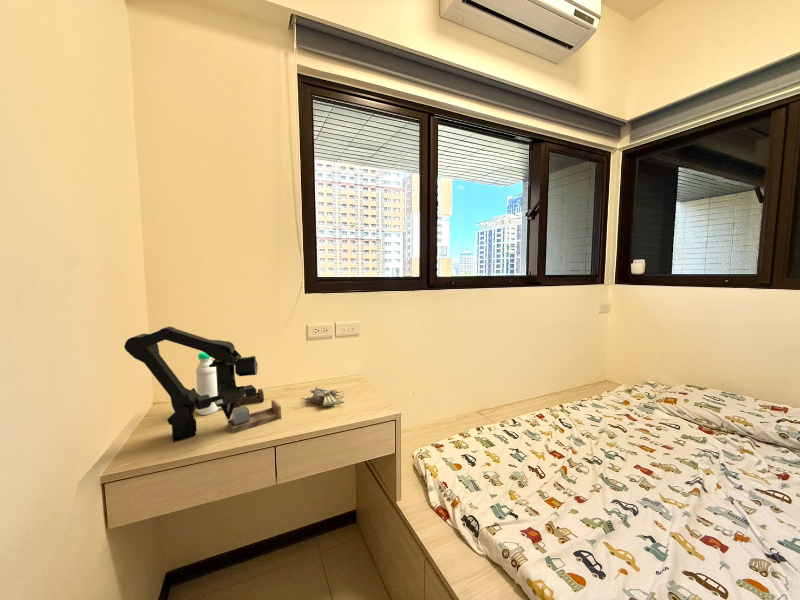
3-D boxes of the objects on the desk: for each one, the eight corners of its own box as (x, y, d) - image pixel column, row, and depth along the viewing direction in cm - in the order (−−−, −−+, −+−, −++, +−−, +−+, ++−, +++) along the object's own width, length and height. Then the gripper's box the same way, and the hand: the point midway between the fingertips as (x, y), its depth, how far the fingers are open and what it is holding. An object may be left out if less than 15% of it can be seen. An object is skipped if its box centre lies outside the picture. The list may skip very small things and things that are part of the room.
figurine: (333, 381, 146) (356, 390, 136) (332, 393, 147) (356, 403, 136) (295, 391, 131) (318, 402, 120) (295, 405, 132) (318, 417, 121)
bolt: (224, 412, 130) (263, 402, 138) (225, 410, 126) (264, 400, 134) (223, 398, 131) (261, 389, 140) (223, 396, 127) (262, 387, 136)
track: (233, 433, 109) (232, 420, 108) (228, 425, 115) (227, 412, 114) (281, 418, 120) (280, 406, 119) (274, 411, 126) (273, 399, 125)
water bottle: (209, 416, 122) (205, 355, 120) (194, 414, 123) (190, 354, 121) (222, 408, 129) (219, 350, 127) (208, 407, 130) (204, 349, 128)
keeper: (235, 427, 110) (234, 414, 110) (231, 422, 114) (231, 409, 114) (249, 422, 114) (249, 410, 113) (246, 418, 117) (245, 405, 117)
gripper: (198, 390, 97) (201, 437, 99) (260, 377, 110) (262, 418, 111) (193, 381, 106) (196, 424, 107) (251, 369, 118) (253, 408, 119)
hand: (228, 419), depth 111 cm, fingers closed
